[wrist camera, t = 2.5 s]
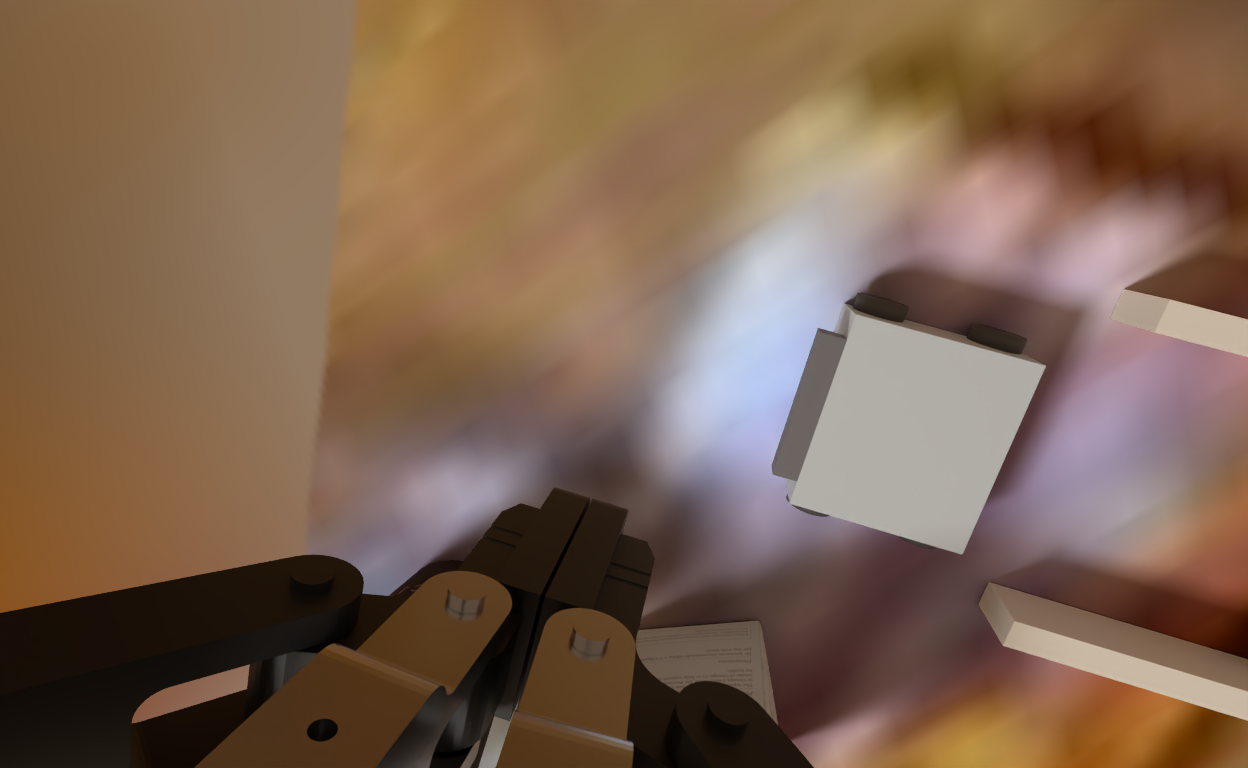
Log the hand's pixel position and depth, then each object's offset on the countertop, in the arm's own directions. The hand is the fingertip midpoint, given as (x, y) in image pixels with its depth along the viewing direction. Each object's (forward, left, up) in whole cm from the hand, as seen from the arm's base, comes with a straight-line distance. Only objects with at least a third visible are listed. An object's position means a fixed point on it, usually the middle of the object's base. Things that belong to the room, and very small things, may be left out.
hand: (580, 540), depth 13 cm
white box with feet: (0, +10, -18) cm, 20 cm away
